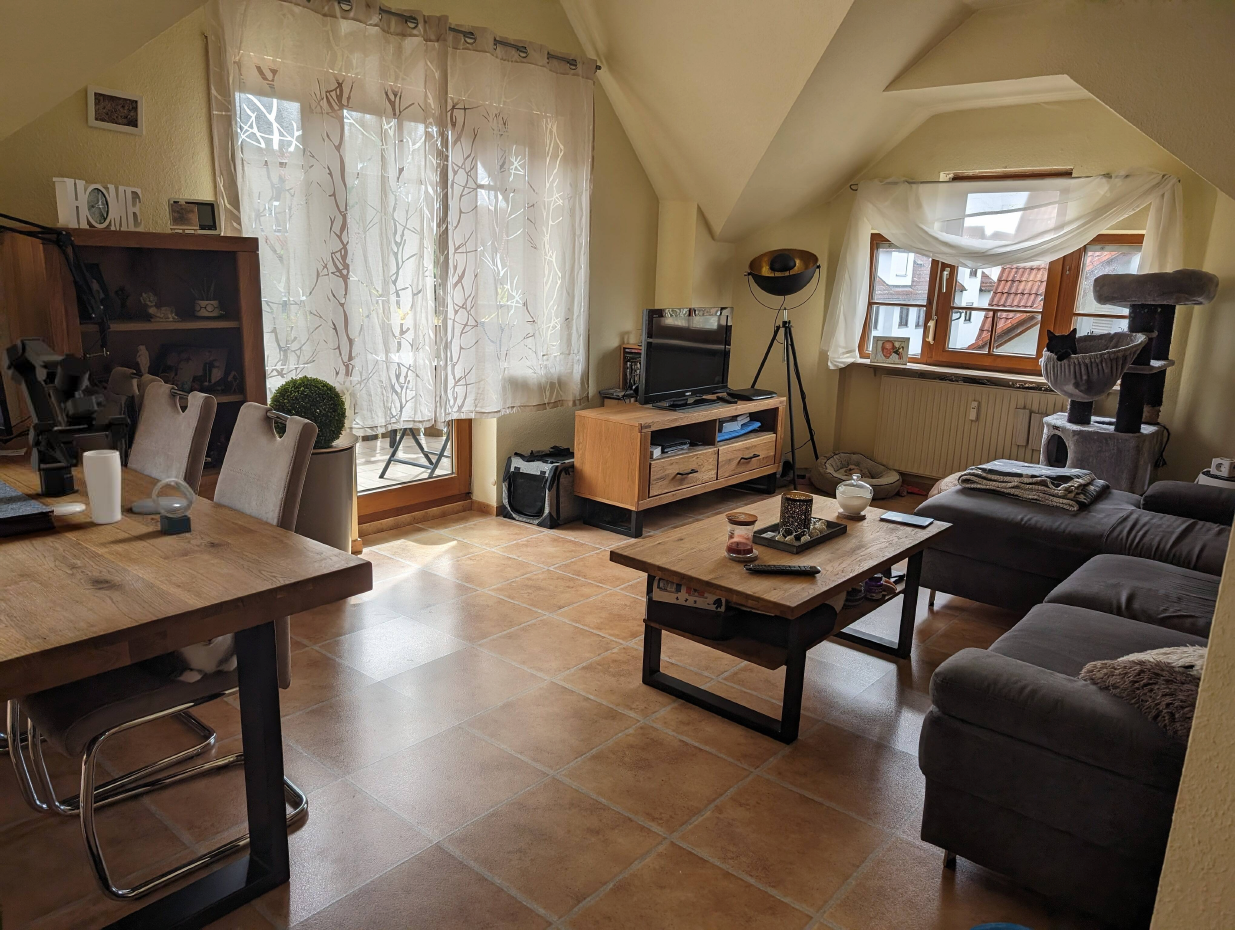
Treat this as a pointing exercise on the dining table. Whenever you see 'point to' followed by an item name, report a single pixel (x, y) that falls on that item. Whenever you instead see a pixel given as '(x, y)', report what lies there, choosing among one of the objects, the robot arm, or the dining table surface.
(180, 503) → the slate saucer
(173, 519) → the grey ring on block
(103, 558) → the dining table surface
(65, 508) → the cream coaster
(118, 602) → the dining table surface
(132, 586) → the dining table surface
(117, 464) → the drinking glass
